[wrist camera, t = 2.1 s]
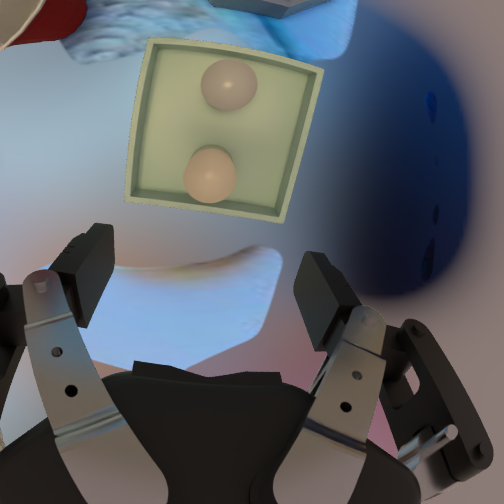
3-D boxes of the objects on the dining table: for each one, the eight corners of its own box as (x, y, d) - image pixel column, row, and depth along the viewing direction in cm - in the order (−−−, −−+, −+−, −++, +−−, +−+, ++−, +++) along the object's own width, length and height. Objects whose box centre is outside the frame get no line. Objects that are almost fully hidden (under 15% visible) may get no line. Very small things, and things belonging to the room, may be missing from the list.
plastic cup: (30, 77, 17) (-41, 82, 7) (32, 7, 12) (-28, -9, 2) (110, 40, 18) (50, 13, 8) (110, -32, 12) (66, -76, 2)
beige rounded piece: (199, 106, 23) (195, 106, 19) (209, 64, 21) (207, 54, 17) (244, 113, 24) (250, 115, 20) (254, 72, 22) (262, 64, 18)
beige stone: (186, 183, 27) (180, 199, 22) (193, 141, 25) (187, 149, 20) (228, 189, 28) (230, 206, 23) (237, 148, 26) (241, 157, 21)
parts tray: (132, 191, 27) (124, 201, 24) (155, 44, 19) (148, 37, 17) (277, 212, 30) (283, 223, 28) (313, 72, 23) (324, 69, 20)
